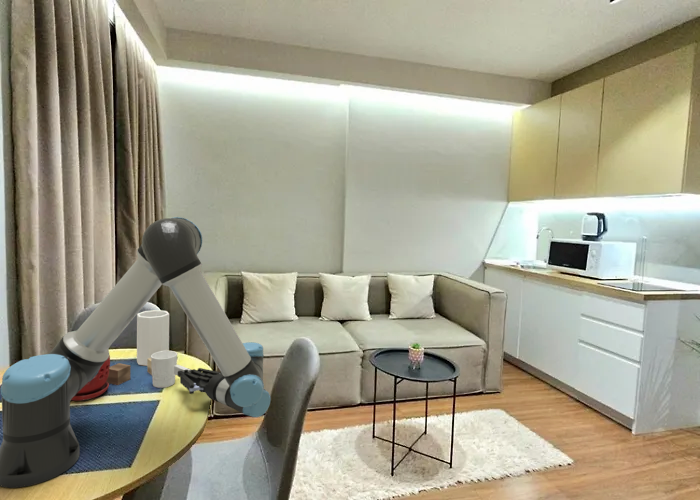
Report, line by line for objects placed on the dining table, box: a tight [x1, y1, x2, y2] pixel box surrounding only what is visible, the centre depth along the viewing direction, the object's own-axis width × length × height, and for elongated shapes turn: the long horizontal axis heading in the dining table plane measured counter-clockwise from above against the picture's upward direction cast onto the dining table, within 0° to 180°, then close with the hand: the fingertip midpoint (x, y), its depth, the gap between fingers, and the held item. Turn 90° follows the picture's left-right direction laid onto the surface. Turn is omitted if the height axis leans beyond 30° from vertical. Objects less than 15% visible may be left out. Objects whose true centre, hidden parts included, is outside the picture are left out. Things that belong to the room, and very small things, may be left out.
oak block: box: [146, 358, 152, 376], centre depth 139 cm, size 5×5×5 cm
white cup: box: [151, 350, 178, 389], centre depth 131 cm, size 8×8×10 cm
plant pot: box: [70, 354, 111, 402], centre depth 120 cm, size 13×13×12 cm
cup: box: [136, 309, 170, 367], centre depth 149 cm, size 11×11×18 cm
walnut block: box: [106, 362, 132, 386], centre depth 131 cm, size 5×5×5 cm
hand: (176, 369), depth 127 cm, fingers closed
